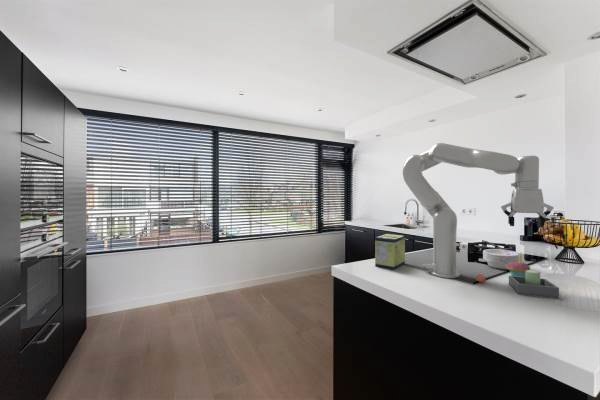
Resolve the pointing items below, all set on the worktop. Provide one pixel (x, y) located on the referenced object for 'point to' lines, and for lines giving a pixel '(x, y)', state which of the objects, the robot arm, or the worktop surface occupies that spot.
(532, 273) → the cucumber chunk
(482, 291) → the worktop surface
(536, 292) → the bin
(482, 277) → the tomato ball
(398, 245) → the protein box
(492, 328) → the worktop surface
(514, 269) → the cupcake
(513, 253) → the paper bowls
